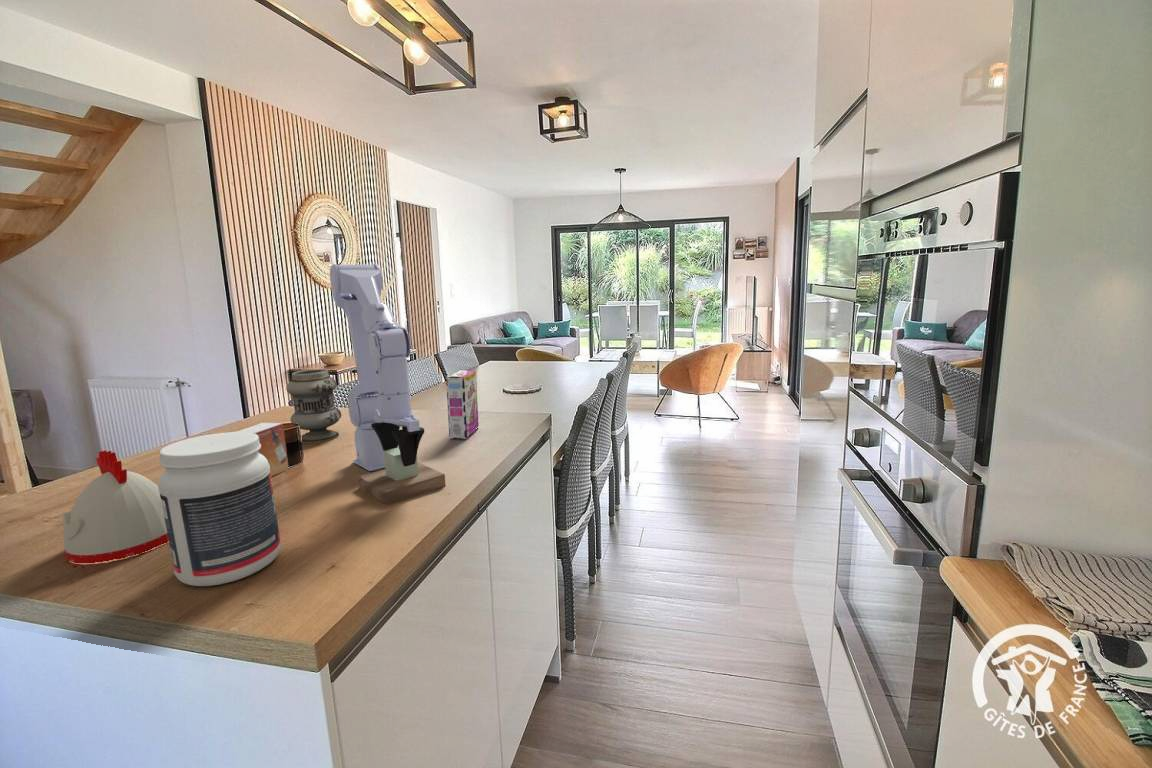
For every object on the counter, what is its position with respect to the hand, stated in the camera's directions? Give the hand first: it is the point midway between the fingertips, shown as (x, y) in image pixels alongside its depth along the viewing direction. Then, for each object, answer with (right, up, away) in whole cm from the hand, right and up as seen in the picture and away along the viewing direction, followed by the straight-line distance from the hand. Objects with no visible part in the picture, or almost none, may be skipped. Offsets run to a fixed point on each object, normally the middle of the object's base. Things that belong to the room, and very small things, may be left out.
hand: (400, 460), depth 102 cm
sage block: (0, -3, +1) cm, 3 cm away
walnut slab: (0, -6, +1) cm, 6 cm away
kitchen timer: (-37, -10, -19) cm, 43 cm away
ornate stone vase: (-34, 0, +37) cm, 50 cm away
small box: (-32, -5, +10) cm, 34 cm away
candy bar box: (+5, +1, +37) cm, 37 cm away
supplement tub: (-15, -11, -27) cm, 33 cm away
